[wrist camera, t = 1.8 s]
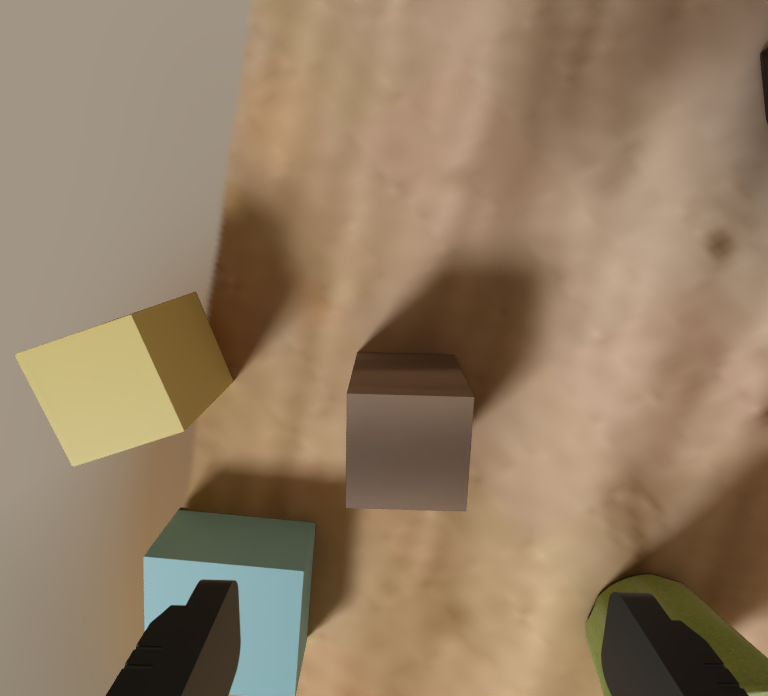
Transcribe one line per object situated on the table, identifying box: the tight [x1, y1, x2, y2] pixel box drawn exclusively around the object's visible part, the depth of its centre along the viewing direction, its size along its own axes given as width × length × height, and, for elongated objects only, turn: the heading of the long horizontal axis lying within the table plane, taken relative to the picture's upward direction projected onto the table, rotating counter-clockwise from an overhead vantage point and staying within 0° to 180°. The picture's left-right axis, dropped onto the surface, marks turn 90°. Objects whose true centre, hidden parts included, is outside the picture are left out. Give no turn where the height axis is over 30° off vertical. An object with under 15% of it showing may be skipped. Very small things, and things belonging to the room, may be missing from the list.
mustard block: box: [15, 292, 233, 466], centre depth 21 cm, size 4×4×6 cm
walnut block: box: [346, 352, 474, 511], centre depth 21 cm, size 4×4×6 cm
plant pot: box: [586, 574, 768, 696], centre depth 23 cm, size 9×9×9 cm
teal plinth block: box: [144, 507, 316, 696], centre depth 25 cm, size 7×7×4 cm
